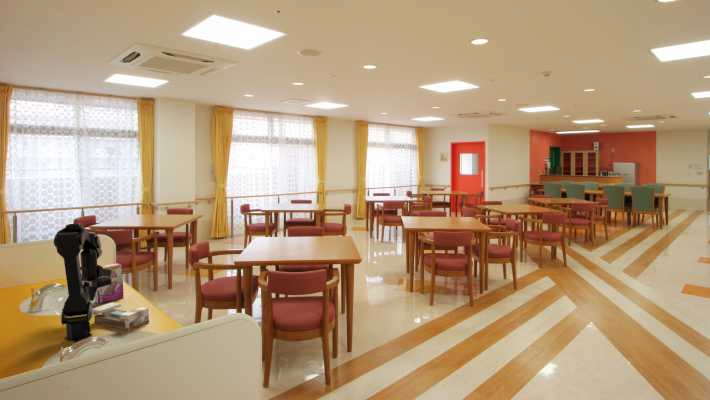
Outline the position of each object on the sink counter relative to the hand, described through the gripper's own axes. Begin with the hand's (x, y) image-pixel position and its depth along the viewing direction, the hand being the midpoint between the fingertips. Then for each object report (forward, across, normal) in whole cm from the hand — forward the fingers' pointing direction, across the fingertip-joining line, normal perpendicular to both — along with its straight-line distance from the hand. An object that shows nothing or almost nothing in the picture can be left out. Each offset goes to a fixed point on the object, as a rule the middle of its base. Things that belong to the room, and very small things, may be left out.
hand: (91, 300), depth 175 cm
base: (+7, -17, 0) cm, 19 cm away
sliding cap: (+6, -9, 0) cm, 10 cm away
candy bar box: (+7, +15, -18) cm, 24 cm away
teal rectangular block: (+6, -17, 0) cm, 18 cm away
